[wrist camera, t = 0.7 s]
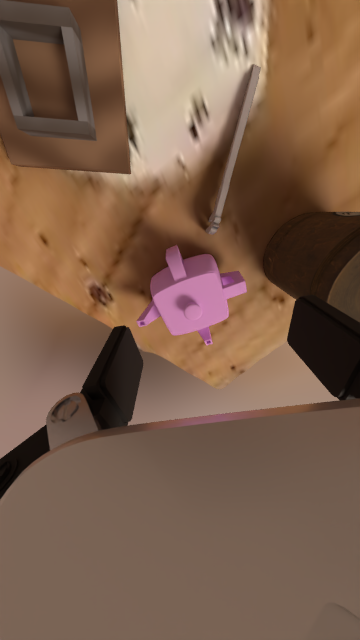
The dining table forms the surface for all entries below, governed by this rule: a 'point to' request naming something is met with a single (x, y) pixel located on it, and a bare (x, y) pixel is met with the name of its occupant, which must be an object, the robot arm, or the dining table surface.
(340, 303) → the wooden container
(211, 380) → the dining table surface
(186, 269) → the teakettle
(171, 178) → the dining table surface
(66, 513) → the robot arm
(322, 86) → the dining table surface
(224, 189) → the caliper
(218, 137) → the dining table surface
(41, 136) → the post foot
